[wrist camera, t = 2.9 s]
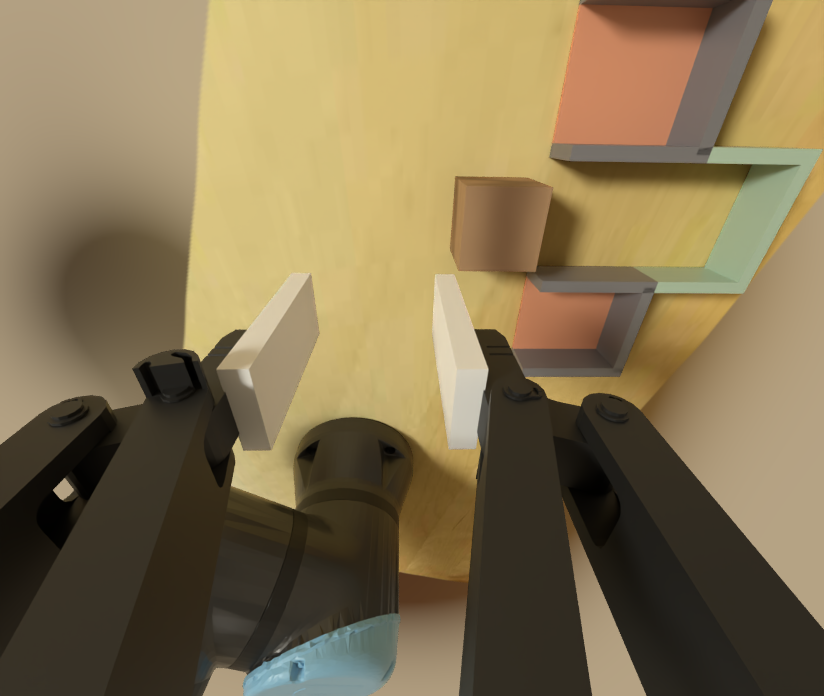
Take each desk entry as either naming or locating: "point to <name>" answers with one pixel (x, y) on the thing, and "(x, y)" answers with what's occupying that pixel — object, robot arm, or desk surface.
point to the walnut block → (498, 223)
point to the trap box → (652, 142)
